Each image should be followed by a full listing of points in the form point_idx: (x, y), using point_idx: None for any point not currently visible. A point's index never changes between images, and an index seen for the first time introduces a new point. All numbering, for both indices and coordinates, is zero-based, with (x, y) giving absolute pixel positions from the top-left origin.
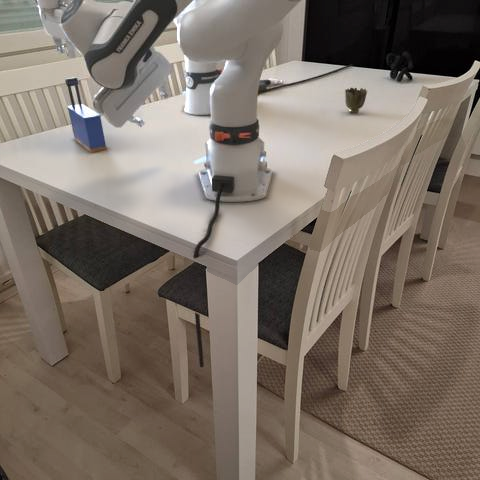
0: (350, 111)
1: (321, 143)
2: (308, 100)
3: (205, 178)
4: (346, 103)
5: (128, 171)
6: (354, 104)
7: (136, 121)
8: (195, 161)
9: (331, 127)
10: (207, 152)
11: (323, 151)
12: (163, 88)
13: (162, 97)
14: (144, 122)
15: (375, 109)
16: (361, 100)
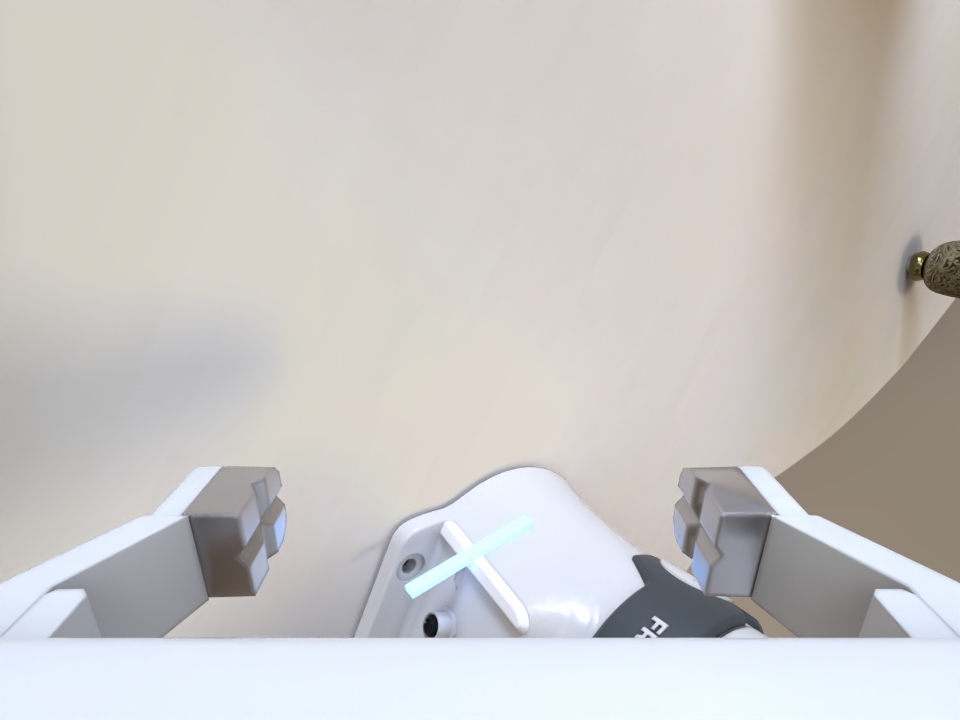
0: (915, 267)
1: (768, 422)
2: (955, 63)
3: (389, 623)
4: (943, 258)
5: (22, 282)
6: (940, 286)
7: (159, 629)
8: (413, 597)
9: (841, 325)
10: (491, 606)
11: None
12: (812, 625)
13: (689, 483)
14: (280, 546)
15: None
16: (956, 297)
